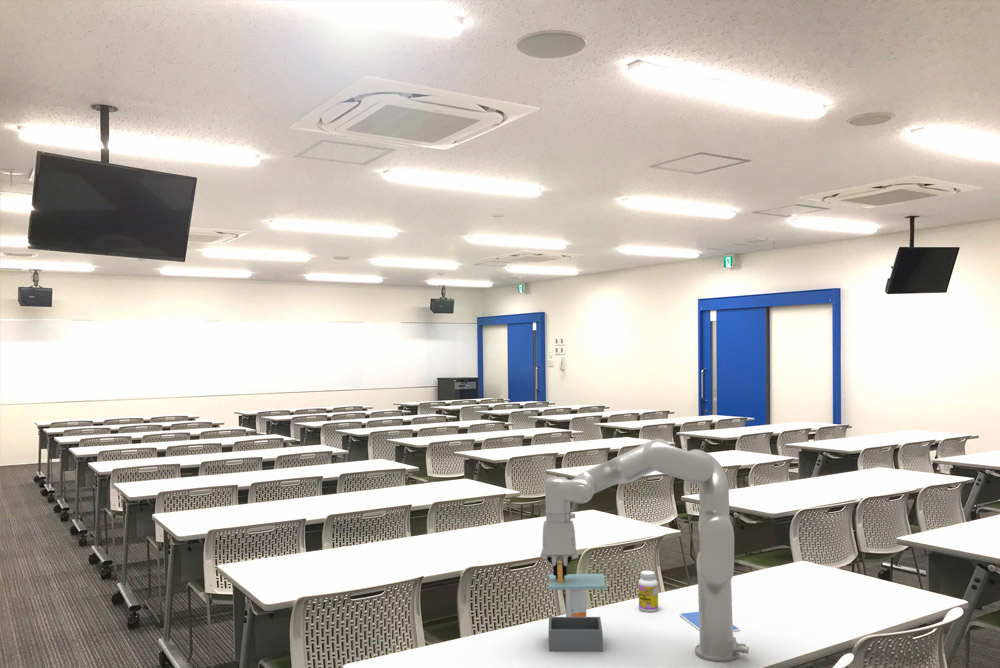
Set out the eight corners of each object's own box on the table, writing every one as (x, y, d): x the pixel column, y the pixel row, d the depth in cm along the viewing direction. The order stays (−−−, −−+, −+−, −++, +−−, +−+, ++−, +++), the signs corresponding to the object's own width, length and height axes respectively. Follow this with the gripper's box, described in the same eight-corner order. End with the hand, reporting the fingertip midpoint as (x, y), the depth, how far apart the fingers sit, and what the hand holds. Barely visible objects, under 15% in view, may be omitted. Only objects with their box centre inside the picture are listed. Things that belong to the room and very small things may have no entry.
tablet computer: (741, 633, 242) (741, 629, 242) (705, 637, 239) (704, 633, 239) (712, 613, 261) (712, 609, 261) (678, 617, 258) (678, 613, 258)
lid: (603, 578, 239) (602, 557, 239) (605, 591, 226) (605, 569, 226) (549, 578, 240) (548, 558, 241) (548, 591, 227) (548, 569, 228)
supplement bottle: (635, 609, 265) (634, 572, 265) (646, 605, 269) (645, 568, 270) (651, 614, 260) (650, 576, 260) (662, 609, 265) (661, 572, 265)
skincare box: (570, 625, 251) (569, 588, 251) (565, 621, 255) (564, 585, 256) (587, 623, 253) (586, 586, 253) (582, 619, 257) (581, 583, 257)
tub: (600, 639, 238) (600, 616, 238) (603, 654, 226) (602, 630, 226) (549, 639, 239) (549, 616, 239) (549, 654, 227) (548, 630, 227)
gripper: (583, 514, 238) (585, 574, 237) (533, 515, 239) (535, 574, 238) (584, 519, 230) (586, 581, 229) (532, 520, 231) (534, 581, 231)
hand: (560, 577), depth 234 cm, fingers closed on lid, 1 cm apart
